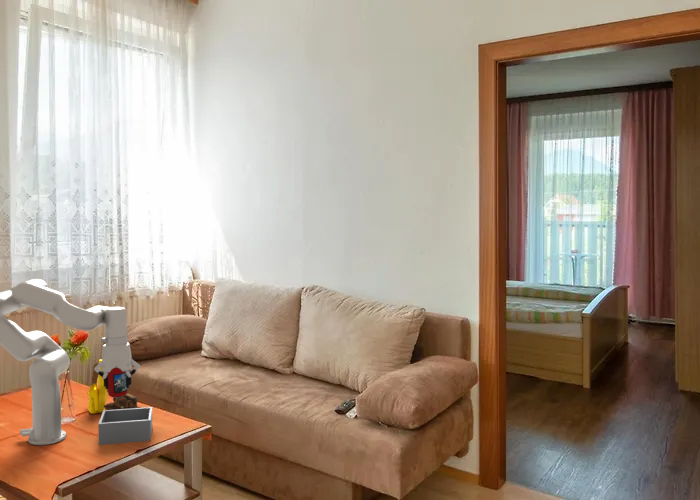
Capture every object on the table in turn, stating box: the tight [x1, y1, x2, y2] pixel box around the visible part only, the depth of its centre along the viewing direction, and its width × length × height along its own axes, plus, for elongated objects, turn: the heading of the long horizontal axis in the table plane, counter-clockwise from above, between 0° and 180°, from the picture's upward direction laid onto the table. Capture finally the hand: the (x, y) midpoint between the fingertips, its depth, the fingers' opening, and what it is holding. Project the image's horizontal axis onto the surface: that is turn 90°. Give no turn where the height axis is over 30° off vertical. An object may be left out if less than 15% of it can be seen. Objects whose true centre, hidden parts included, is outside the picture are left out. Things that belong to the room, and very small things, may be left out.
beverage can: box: [107, 366, 128, 399], centre depth 218 cm, size 7×7×12 cm
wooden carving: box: [104, 393, 143, 410], centre depth 241 cm, size 16×5×10 cm, turn 81°
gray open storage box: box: [97, 406, 153, 446], centre depth 224 cm, size 18×14×8 cm
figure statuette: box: [86, 359, 108, 414], centre depth 247 cm, size 18×8×22 cm, turn 33°
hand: (117, 387), depth 219 cm, fingers closed on beverage can, 6 cm apart
